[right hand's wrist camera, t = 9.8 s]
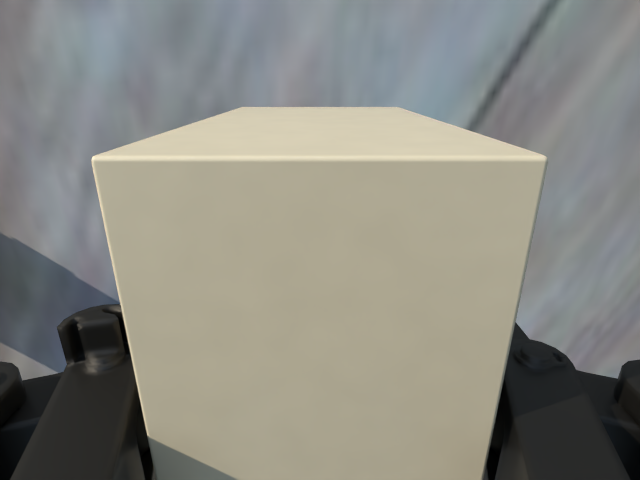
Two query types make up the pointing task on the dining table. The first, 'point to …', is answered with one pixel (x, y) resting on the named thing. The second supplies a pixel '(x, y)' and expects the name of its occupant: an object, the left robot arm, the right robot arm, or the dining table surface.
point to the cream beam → (319, 290)
